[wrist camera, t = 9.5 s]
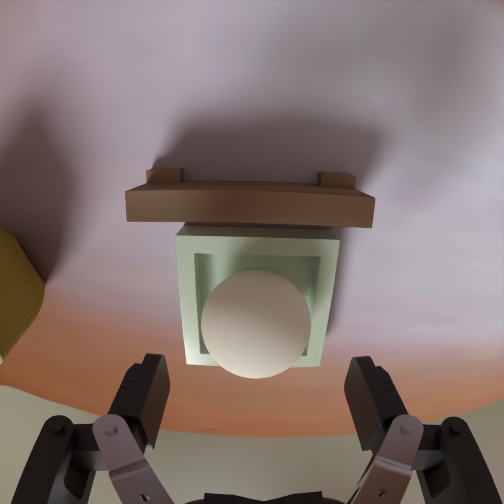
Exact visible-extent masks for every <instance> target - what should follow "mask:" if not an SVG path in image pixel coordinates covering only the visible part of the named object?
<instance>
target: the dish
mask: <svg viewBox="0 0 504 504" xmlns="http://www.w3.org/2000/svg"><path fill="white" fill-rule="evenodd" d="M175 236H176V254H177V269H178V283H179V295H180V306H181V317H182V327H183V336H184V344H185V353H186V361H187V364H195V365H211V366H221V365H219V364H218V363H217V362H216V361H215V360H214V359H213V357H212V356H211V354H210V353H209V351H208V350H207V348H206V346H205V343H204V340H203V337H202V331H201V318H202V312H203V308H204V305H205V303H206V301H207V299H208V297H209V295H210V294H211V292H212V291H213V290H214V289H215V287H216V286H217V285H218V284H219V283H221V282H222V281H223V280H225V279H226V278H228V277H230V276H231V275H234V274H236V273H239V272H242V271H247V270H265V271H270V272H273V273H276V274H279V275H281V276H283V277H285V278H286V279H288V280H289V281H290V282H292V283H293V284H294V285H295V286H296V287H297V288H298V290H299V291H300V292H301V293H302V295H303V296H304V298H305V300H306V302H307V305H308V307H309V311H310V316H311V333H310V337H309V341H308V343H307V346H306V348H305V350H304V351H303V353H302V355H301V356H300V357H299V359H298V360H297V361H296V362H295V363H294V364H293V365H292V366H290V367H316V366H319V365H320V360H321V355H322V350H323V345H324V340H325V334H326V329H327V323H328V318H329V312H330V306H331V300H332V294H333V287H334V280H335V274H336V266H337V259H338V251H339V243H340V240H339V239H338V237H337V236H336V235H335V234H334V233H333V232H332V231H331V230H323V229H297V228H267V227H229V226H183V227H182V228H181V230H180V231H179V232H178V233H177V234H176V235H175Z"/></svg>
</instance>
